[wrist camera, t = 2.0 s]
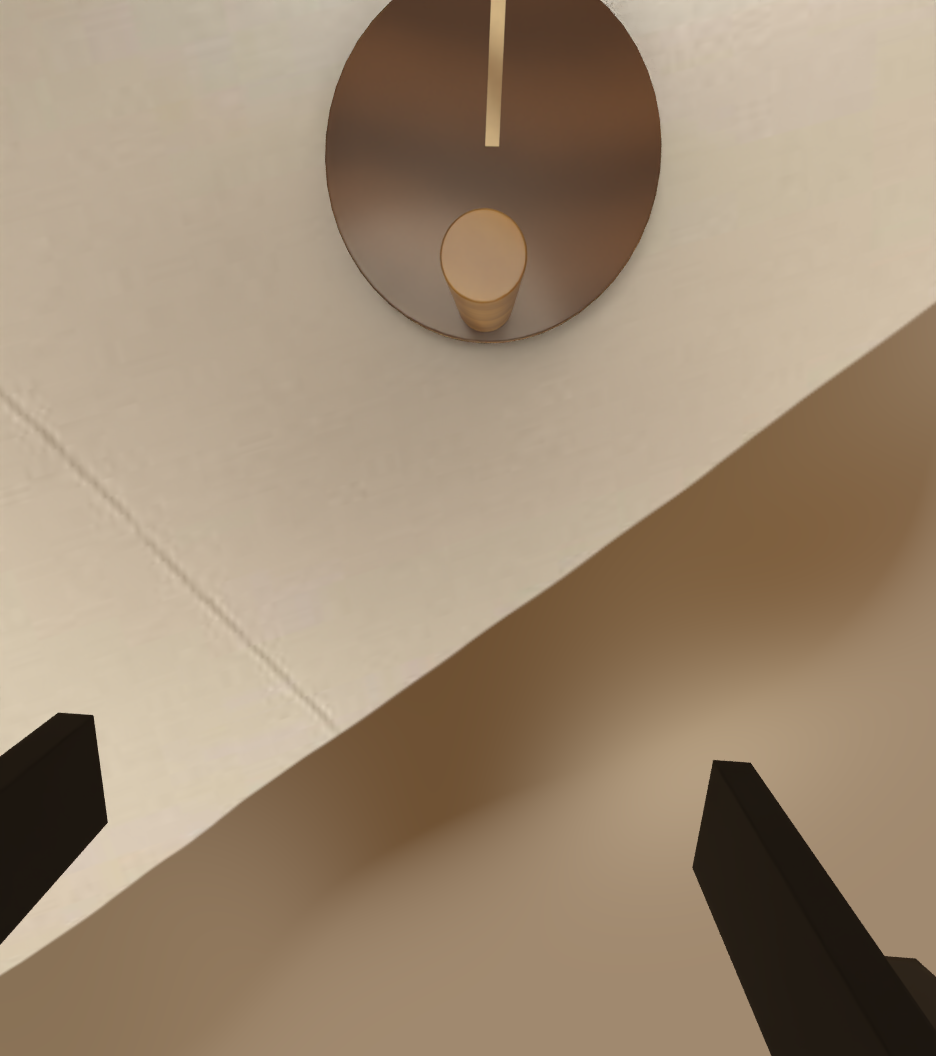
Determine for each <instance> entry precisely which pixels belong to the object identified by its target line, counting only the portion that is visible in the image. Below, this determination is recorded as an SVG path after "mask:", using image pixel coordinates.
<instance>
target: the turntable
mask: <svg viewBox="0 0 936 1056" xmlns="http://www.w3.org/2000/svg"><path fill="white" fill-rule="evenodd" d="M660 163H661V130H660V118H659V112H658V107H657V101H656V96H655V92H654V89H653V86H652V83H651V80H650V76H649V73H648V70H647V68H646V66H645V64H644V61H643V59H642V57H641V55H640V53H639V50H638V48H637V46H636V45H635V43H634V42H633V40H632V38H631V37H630V35H629V34H628V32H627V31H626V29H625V27H624V26H623V25H622V23H621V22H620V21H619V20H618V19H617V17H616V16H615V15H614V14H613V13H612V12H611V10H610V9H609V8H608V7H607V6H606V5H605V4H604V3H603V2H602V1H600V0H392V1H391V2H390V3H389V4H388V5H387V6H386V7H385V8H384V9H383V10H382V11H381V12H380V13H379V14H378V15H377V16H376V17H375V18H374V20H373V21H372V22H371V23H370V25H369V26H368V28H367V29H366V30H365V32H364V33H363V34H362V36H361V37H360V38H359V40H358V41H357V43H356V45H355V47H354V49H353V51H352V52H351V54H350V56H349V58H348V60H347V61H346V63H345V66H344V68H343V71H342V73H341V76H340V78H339V81H338V83H337V86H336V89H335V93H334V97H333V100H332V104H331V108H330V112H329V119H328V126H327V132H326V151H325V165H326V177H327V187H328V192H329V197H330V202H331V207H332V211H333V214H334V217H335V220H336V223H337V226H338V229H339V232H340V234H341V237H342V239H343V241H344V243H345V245H346V248H347V250H348V252H349V254H350V255H351V257H352V259H353V260H354V262H355V264H356V265H357V267H358V268H359V270H360V272H361V273H362V274H363V276H364V277H365V278H366V279H367V281H368V282H369V283H370V284H371V286H372V287H373V288H374V289H375V290H376V291H377V292H378V293H379V294H380V295H381V296H382V297H383V298H384V299H385V300H386V301H387V302H388V303H389V304H390V305H391V306H392V307H394V308H395V309H396V310H398V311H399V312H400V313H402V314H403V315H404V316H406V317H407V318H408V319H410V320H412V321H413V322H415V323H417V324H419V325H420V326H422V327H424V328H426V329H428V330H430V331H433V332H435V333H438V334H440V335H443V336H445V337H449V338H453V339H457V340H461V341H467V342H476V343H505V342H511V341H517V340H523V339H526V338H529V337H532V336H536V335H539V334H542V333H544V332H546V331H549V330H551V329H553V328H555V327H557V326H559V325H561V324H563V323H564V322H566V321H568V320H569V319H571V318H572V317H574V316H575V315H577V314H579V313H580V312H581V311H582V310H584V309H585V308H586V307H587V306H588V305H590V304H591V303H592V302H593V301H594V300H596V299H597V298H598V297H599V296H600V295H601V294H602V293H603V292H604V291H605V290H606V289H607V288H608V286H609V285H610V284H611V283H612V282H613V281H614V280H615V279H616V277H617V276H618V275H619V273H620V272H621V270H622V269H623V268H624V266H625V265H626V264H627V262H628V261H629V259H630V257H631V255H632V254H633V252H634V250H635V248H636V247H637V245H638V243H639V241H640V239H641V237H642V234H643V232H644V229H645V227H646V225H647V222H648V220H649V217H650V214H651V210H652V207H653V203H654V200H655V196H656V191H657V186H658V180H659V174H660Z"/></svg>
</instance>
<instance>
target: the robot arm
mask: <svg viewBox="0 0 936 1056" xmlns="http://www.w3.org/2000/svg"><path fill="white" fill-rule="evenodd" d="M107 823H108V821H107V813H106V806H105V798H104V791H103V783H102V776H101V768H100V761H99V753H98V746H97V739H96V731H95V724H94V716H93V715H83V714H69V713H57V714H56V715H55V716H53V717H52V718H51V719H49V720H48V721H47V722H45V723H44V724H43V725H41V726H40V727H39V728H37V729H36V730H35V731H33V732H32V733H31V734H29V735H28V736H27V737H25V738H24V739H23V740H21V741H20V742H19V743H17V744H16V745H15V746H13V747H12V748H11V749H9V750H8V751H7V752H5V753H4V754H3V755H1V756H0V944H1V943H2V942H3V941H4V940H5V939H6V938H7V936H8V935H9V934H10V933H11V932H12V931H13V930H14V929H15V927H16V926H17V925H18V924H19V923H20V922H21V921H22V919H23V918H24V917H25V916H26V915H27V914H28V913H29V911H30V910H31V909H32V908H33V907H34V906H35V905H36V904H37V902H38V901H39V900H40V899H41V898H42V897H43V896H44V894H45V893H46V892H47V891H48V890H49V889H50V888H51V886H52V885H53V884H54V883H55V882H56V881H57V880H58V879H59V877H60V876H61V875H62V874H63V873H64V872H65V871H66V869H67V868H68V867H69V866H70V865H71V864H72V863H73V861H74V860H75V859H76V858H77V857H78V856H79V855H80V854H81V852H82V851H83V850H84V849H85V848H86V847H87V846H88V844H89V843H90V842H91V841H92V840H93V839H94V838H95V836H96V835H97V834H98V833H99V832H100V831H101V830H102V828H103V827H104V826H105V825H106V824H107ZM693 870H694V873H695V875H696V877H697V879H698V882H699V884H700V887H701V889H702V892H703V894H704V896H705V899H706V901H707V904H708V906H709V908H710V910H711V913H712V915H713V918H714V920H715V923H716V925H717V927H718V930H719V932H720V935H721V937H722V939H723V941H724V944H725V946H726V949H727V951H728V954H729V956H730V958H731V961H732V963H733V965H734V968H735V970H736V973H737V975H738V977H739V980H740V982H741V985H742V987H743V989H744V991H745V994H746V996H747V999H748V1001H749V1004H750V1006H751V1008H752V1010H753V1013H754V1015H755V1018H756V1020H757V1023H758V1025H759V1027H760V1030H761V1032H762V1034H763V1037H764V1039H765V1042H766V1044H767V1046H768V1049H769V1051H770V1054H771V1056H936V977H935V976H934V975H933V974H932V973H931V972H930V971H929V970H928V969H927V968H925V967H924V966H923V965H922V964H921V963H920V962H919V961H918V960H917V959H913V958H901V957H888V956H884V955H883V953H882V952H881V950H880V949H879V948H878V946H877V945H876V943H875V942H874V940H873V939H872V938H871V936H870V935H869V933H868V932H867V930H866V929H865V927H864V926H863V924H862V923H861V922H860V920H859V919H858V917H857V916H856V914H855V913H854V911H853V910H852V909H851V907H850V906H849V904H848V903H847V901H846V900H845V898H844V897H843V896H842V894H841V893H840V891H839V890H838V888H837V887H836V886H835V884H834V883H833V881H832V880H831V878H830V877H829V875H828V874H827V872H826V871H825V870H824V868H823V867H822V865H821V864H820V863H819V861H818V859H817V858H816V857H815V855H814V854H813V852H812V851H811V849H810V848H809V847H808V845H807V844H806V842H805V841H804V839H803V838H802V836H801V835H800V833H799V832H798V831H797V829H796V828H795V826H794V825H793V823H792V822H791V821H790V819H789V818H788V816H787V815H786V813H785V812H784V811H783V809H782V808H781V806H780V805H779V803H778V802H777V800H776V799H775V797H774V796H773V794H772V793H771V792H770V790H769V789H768V787H767V786H766V784H765V783H764V781H763V780H762V779H761V777H760V776H759V774H758V773H757V772H756V770H755V769H754V767H753V766H752V764H751V763H746V762H733V761H719V760H713V764H712V769H711V774H710V780H709V785H708V790H707V795H706V801H705V806H704V811H703V816H702V821H701V826H700V831H699V836H698V842H697V847H696V852H695V857H694V862H693Z"/></svg>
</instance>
